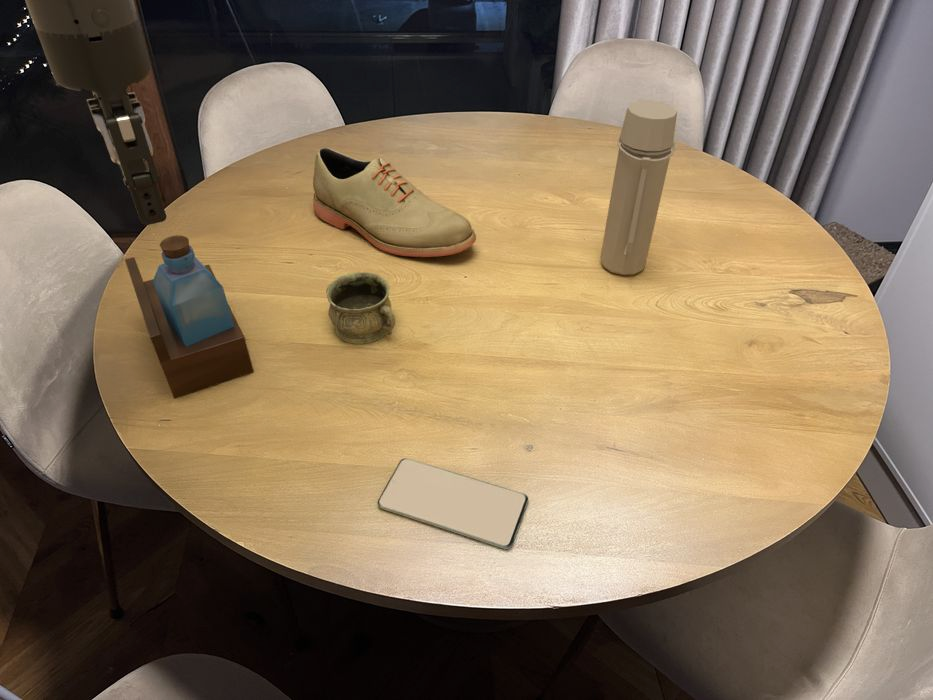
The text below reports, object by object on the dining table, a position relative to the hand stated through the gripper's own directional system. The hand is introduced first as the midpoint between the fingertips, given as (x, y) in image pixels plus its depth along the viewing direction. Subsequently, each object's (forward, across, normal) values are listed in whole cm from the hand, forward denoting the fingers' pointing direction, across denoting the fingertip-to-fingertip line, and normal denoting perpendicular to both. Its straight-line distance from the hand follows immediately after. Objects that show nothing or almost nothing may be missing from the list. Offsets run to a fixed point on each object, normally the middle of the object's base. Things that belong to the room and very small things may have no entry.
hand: (145, 202), depth 64 cm
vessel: (+28, -6, +22) cm, 36 cm away
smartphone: (+28, +26, +19) cm, 43 cm away
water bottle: (+28, 0, +64) cm, 69 cm away
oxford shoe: (+27, -27, +36) cm, 53 cm away
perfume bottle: (+22, -10, +2) cm, 24 cm away
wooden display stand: (+28, -14, +1) cm, 31 cm away
